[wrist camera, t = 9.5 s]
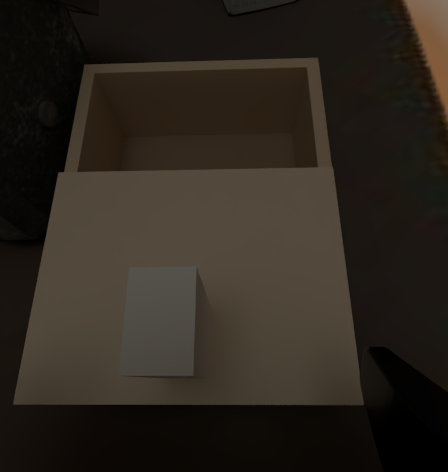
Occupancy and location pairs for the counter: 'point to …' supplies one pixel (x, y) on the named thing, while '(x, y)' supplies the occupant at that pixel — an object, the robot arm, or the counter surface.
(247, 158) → the carton
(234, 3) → the skincare box
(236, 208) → the lid
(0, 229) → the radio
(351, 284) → the counter surface
